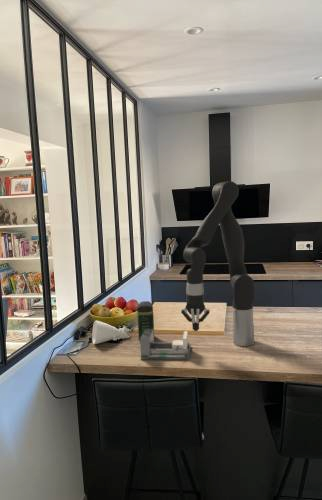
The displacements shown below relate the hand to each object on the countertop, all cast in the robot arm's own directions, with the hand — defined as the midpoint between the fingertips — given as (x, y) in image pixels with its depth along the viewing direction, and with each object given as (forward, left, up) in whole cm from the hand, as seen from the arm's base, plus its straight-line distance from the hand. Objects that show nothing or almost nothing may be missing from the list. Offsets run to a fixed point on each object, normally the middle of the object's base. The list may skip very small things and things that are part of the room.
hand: (195, 330), depth 165 cm
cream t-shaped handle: (+7, +1, -9) cm, 12 cm away
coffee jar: (+26, -17, -11) cm, 32 cm away
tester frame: (+14, 0, -11) cm, 17 cm away
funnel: (+43, -14, -11) cm, 47 cm away
